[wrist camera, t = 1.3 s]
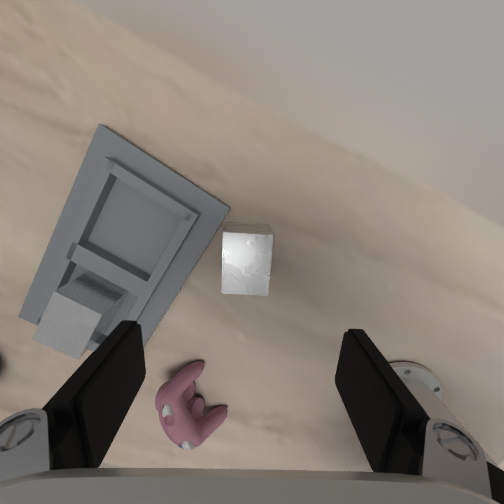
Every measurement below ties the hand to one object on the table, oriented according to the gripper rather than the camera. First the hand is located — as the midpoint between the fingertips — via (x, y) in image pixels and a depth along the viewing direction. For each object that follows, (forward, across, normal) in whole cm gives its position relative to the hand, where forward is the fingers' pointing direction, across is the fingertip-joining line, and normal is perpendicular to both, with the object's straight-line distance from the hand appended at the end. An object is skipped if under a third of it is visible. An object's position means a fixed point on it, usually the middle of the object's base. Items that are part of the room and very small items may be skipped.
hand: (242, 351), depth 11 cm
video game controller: (+16, +6, +20) cm, 27 cm away
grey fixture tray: (+16, +14, +2) cm, 21 cm away
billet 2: (+16, 0, 0) cm, 16 cm away
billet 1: (+15, +16, +7) cm, 23 cm away
